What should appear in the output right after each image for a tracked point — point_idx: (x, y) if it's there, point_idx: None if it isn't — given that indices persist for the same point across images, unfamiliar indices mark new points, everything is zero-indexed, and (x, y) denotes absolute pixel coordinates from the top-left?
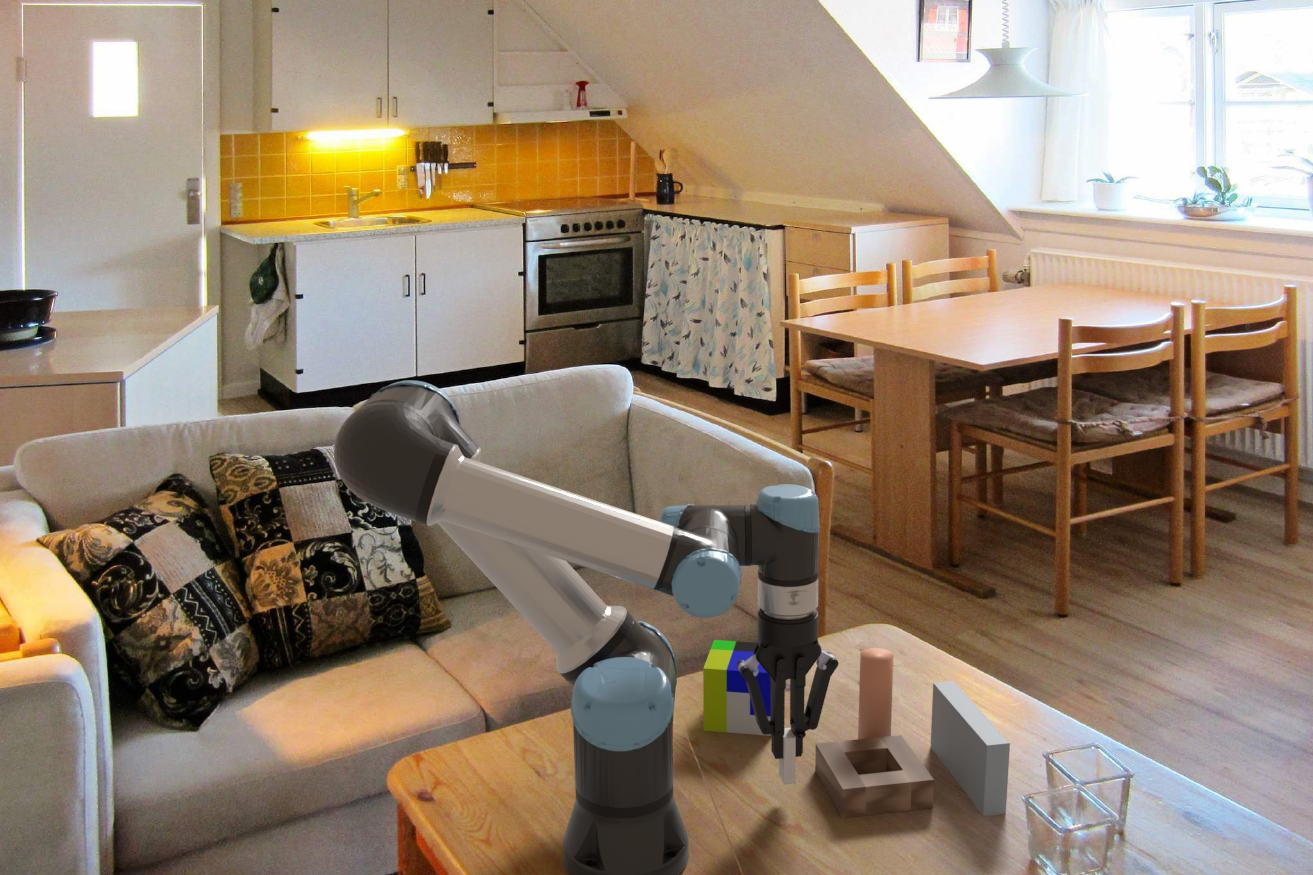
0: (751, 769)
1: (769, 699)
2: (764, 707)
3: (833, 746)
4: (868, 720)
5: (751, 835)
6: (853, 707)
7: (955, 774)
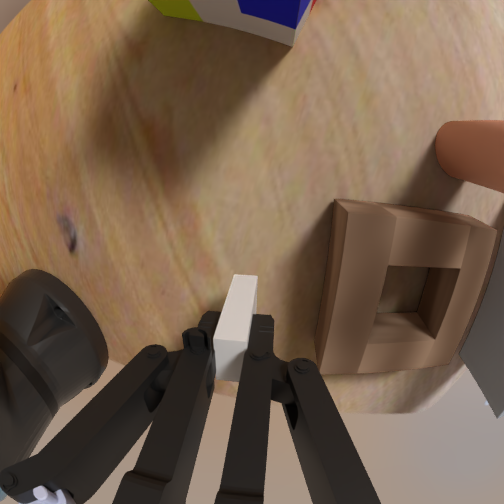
0: (213, 158)
1: (287, 7)
2: (136, 440)
3: (379, 236)
4: (481, 175)
5: (177, 340)
6: (456, 21)
7: (494, 284)
